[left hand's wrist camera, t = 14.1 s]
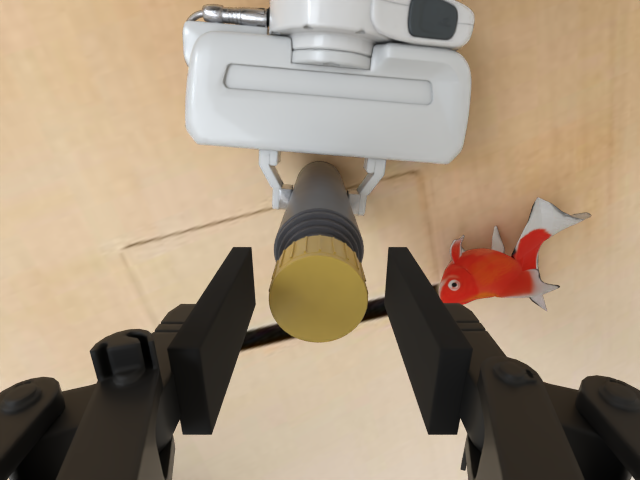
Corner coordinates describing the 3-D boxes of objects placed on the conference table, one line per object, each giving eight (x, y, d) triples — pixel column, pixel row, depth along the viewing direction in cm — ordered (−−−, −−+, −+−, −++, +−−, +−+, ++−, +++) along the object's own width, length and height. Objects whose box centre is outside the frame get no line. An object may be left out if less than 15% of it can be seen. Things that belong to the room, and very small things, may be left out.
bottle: (324, 151, 33) (331, 216, 12) (351, 189, 34) (400, 306, 13) (287, 180, 34) (234, 285, 13) (315, 215, 35) (307, 363, 14)
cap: (327, 215, 14) (329, 233, 12) (379, 282, 15) (389, 310, 13) (256, 266, 15) (246, 292, 13) (310, 327, 16) (309, 359, 14)
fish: (419, 201, 30) (519, 271, 23) (539, 158, 35) (651, 204, 28) (404, 287, 36) (479, 362, 29) (507, 240, 42) (591, 294, 35)
